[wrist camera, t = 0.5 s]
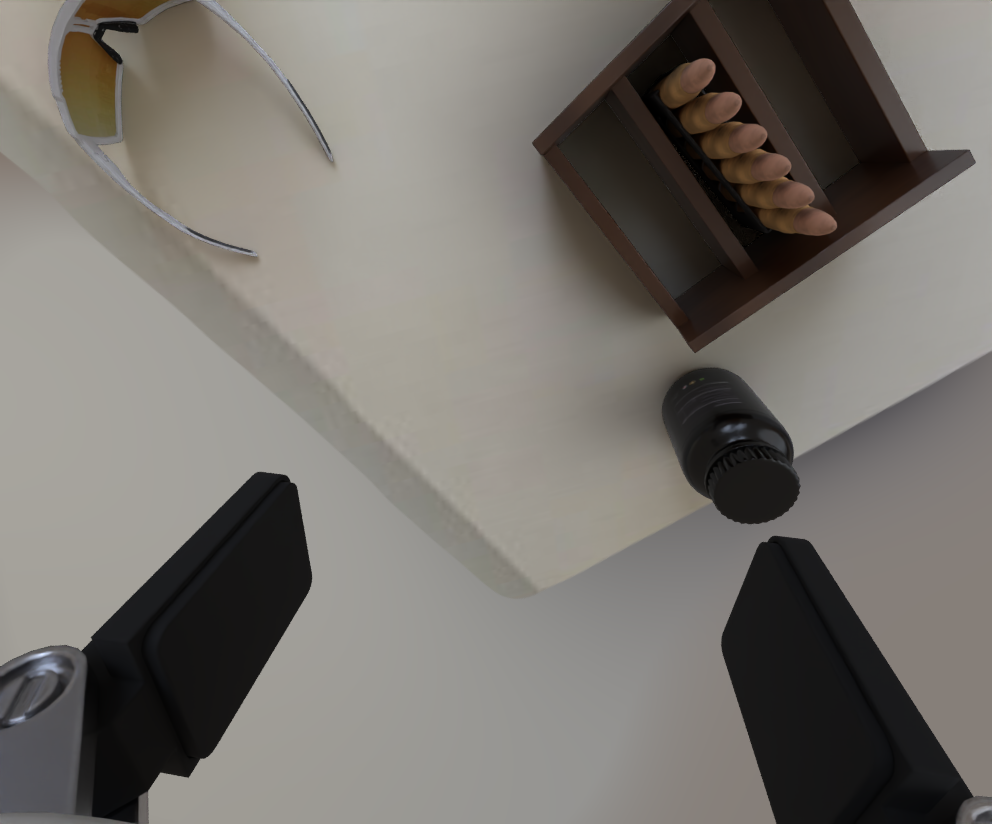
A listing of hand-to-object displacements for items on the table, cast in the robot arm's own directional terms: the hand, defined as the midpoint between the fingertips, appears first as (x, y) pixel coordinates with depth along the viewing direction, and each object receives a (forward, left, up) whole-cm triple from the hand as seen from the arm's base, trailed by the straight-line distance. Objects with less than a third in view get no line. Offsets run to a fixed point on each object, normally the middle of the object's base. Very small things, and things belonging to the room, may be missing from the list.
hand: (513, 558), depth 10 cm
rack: (-12, +1, -29) cm, 31 cm away
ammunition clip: (-12, +1, -29) cm, 32 cm away
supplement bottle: (-3, +16, -29) cm, 33 cm away
